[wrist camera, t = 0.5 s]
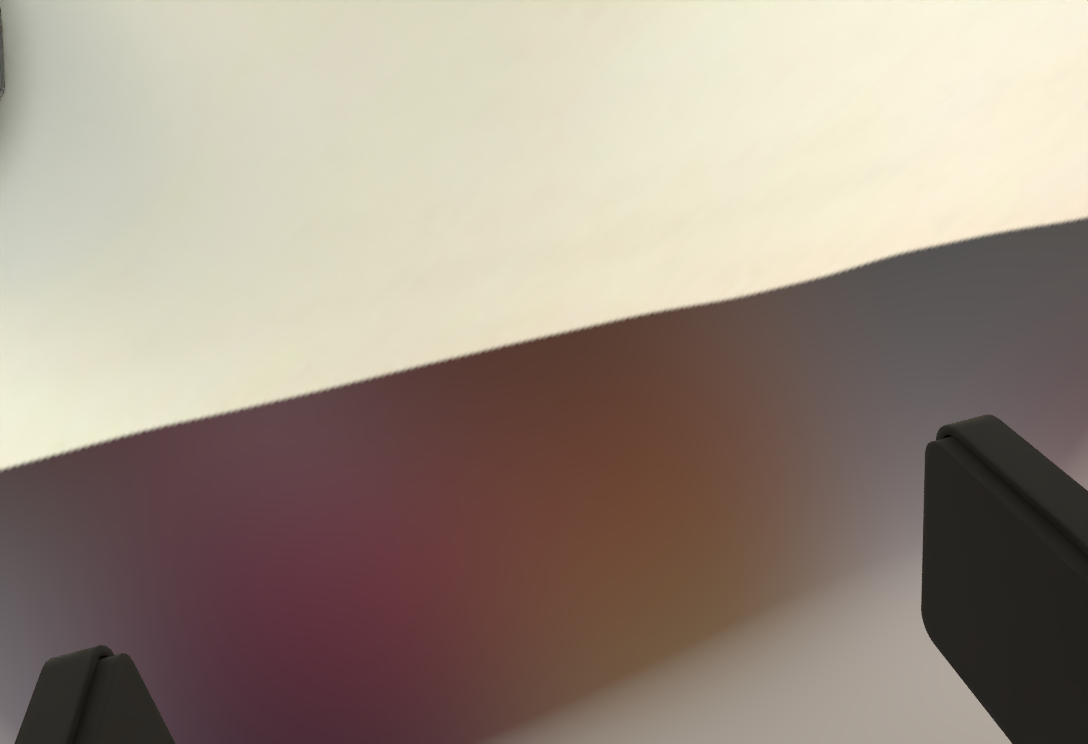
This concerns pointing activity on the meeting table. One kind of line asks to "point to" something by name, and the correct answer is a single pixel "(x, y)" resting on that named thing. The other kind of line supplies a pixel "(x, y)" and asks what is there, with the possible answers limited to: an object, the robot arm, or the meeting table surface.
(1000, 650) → the robot arm
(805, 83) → the meeting table surface
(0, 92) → the grey faceted ring
